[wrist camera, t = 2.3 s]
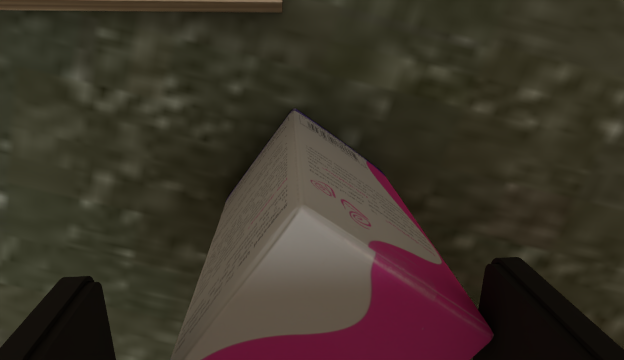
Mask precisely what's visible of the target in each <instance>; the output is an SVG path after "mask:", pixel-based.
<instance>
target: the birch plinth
mask: <svg viewBox="0 0 624 360" xmlns="http://www.w3.org/2000/svg"><path fill="white" fill-rule="evenodd" d="M0 10H51V11H165V12H279V13H282V0H0Z"/></svg>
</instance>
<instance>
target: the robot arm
mask: <svg viewBox="0 0 624 360" xmlns="http://www.w3.org/2000/svg"><path fill="white" fill-rule="evenodd" d="M478 311H479V312H480V314H481V315H482V316H483V318H484V319H485V321H486V322H487V324H488V325H489V327H490V328H491V330H492V332H493V334H494V336H493V338H492V340H491V341H490V342H489V343H488V344H487V345H486V346H485V347H484V348H482V349H481V350H480V351H479V352H478V353H477V354H476V355H475V356H474V357H473V360H624V350H623V349H622V348H621V347H620V346H619V345H618V344H617V343H615V342H614V341H613V340H612V339H611V338H610V337H609V336H608V335H606V334H605V333H604V332H603V331H602V330H601V329H600V328H599V327H597V326H596V325H595V324H594V323H593V322H592V321H591V320H590V319H588V318H587V317H586V316H585V315H584V314H583V313H582V312H581V311H579V310H578V309H577V308H576V307H575V306H574V305H573V304H572V303H570V302H569V301H568V300H567V299H566V298H565V297H564V296H563V295H561V294H560V293H559V292H558V291H557V290H556V289H555V288H554V287H552V286H551V285H550V284H549V283H548V282H547V281H546V280H545V279H543V278H542V277H541V276H540V275H539V274H538V273H537V272H536V271H534V270H533V269H532V268H531V267H530V266H529V265H528V264H527V263H525V262H524V261H523V260H522V259H521V258H519V257H510V258H495V259H493V261H492V263H491V264H488V265H487V266H486V268H485V273H484V279H483V285H482V291H481V297H480V303H479V309H478ZM0 360H116V358H115V352H114V347H113V342H112V337H111V331H110V326H109V321H108V316H107V310H106V305H105V300H104V295H103V290H102V286H101V284H100V283H99V282H94V280H93V278H92V277H90V276H81V277H64V278H62V279H60V280H59V281H58V282H57V284H56V285H55V286H54V287H53V288H52V289H51V290H50V292H49V293H48V294H47V295H46V296H45V297H44V298H43V300H42V301H41V302H40V303H39V304H38V305H37V306H36V308H35V309H34V310H33V311H32V312H31V313H30V314H29V316H28V317H27V318H26V319H25V320H24V321H23V322H22V324H21V325H20V326H19V327H18V328H17V329H16V330H15V332H14V333H13V334H12V335H11V336H10V337H9V339H8V340H7V341H6V342H5V343H4V344H3V345H2V347H1V348H0Z"/></svg>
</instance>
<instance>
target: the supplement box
mask: <svg viewBox="0 0 624 360" xmlns="http://www.w3.org/2000/svg"><path fill="white" fill-rule="evenodd" d="M493 336H494V334H493V332H492V330H491V328H490V327H489V325H488V324H487V322H486V321H485V319H484V318H483V316H482V315H481V314H480V312H479V311H478V309H477V308H476V306H475V305H474V303H473V302H472V300H471V299H470V298H469V296H468V295H467V293H466V292H465V290H464V289H463V288H462V286H461V285H460V283H459V282H458V280H457V279H456V277H455V276H454V274H453V273H452V271H451V270H450V269H449V267H448V266H447V264H446V263H445V262H444V260H443V259H442V257H441V256H440V254H439V253H438V251H437V250H436V249H435V247H434V246H433V244H432V243H431V241H430V240H429V239H428V237H427V236H426V234H425V233H424V231H423V230H422V229H421V227H420V226H419V224H418V223H417V221H416V220H415V219H414V217H413V216H412V214H411V213H410V211H409V210H408V208H407V207H406V205H405V204H404V203H403V201H402V199H401V198H400V197H399V195H398V194H397V192H396V191H395V189H394V188H393V187H392V185H391V184H390V182H389V181H388V179H387V178H386V176H385V174H384V173H383V172H382V171H381V170H379V169H378V168H377V167H376V166H374V165H373V164H372V163H370V162H369V161H368V160H367V159H365V158H364V157H362V156H361V155H360V154H358V153H357V152H356V151H354V150H353V149H352V148H350V147H349V146H348V145H346V144H345V143H343V142H342V141H341V140H339V139H338V138H337V137H335V136H334V135H333V134H331V133H330V132H328V131H327V130H326V129H324V128H323V127H321V126H320V125H319V124H317V123H316V122H314V121H313V120H312V119H310V118H309V117H307V116H306V115H304V114H303V113H301V112H300V111H299V110H297V109H296V108H293V109H292V111H291V112H290V113H289V115H288V116H287V117H286V119H285V120H284V121H283V123H282V124H281V125H280V127H279V128H278V129H277V131H276V132H275V133H274V135H273V136H272V137H271V139H270V140H269V141H268V143H267V144H266V145H265V147H264V148H263V150H262V151H261V152H260V154H259V155H258V156H257V158H256V159H255V160H254V162H253V163H252V165H251V166H250V167H249V169H248V170H247V171H246V173H245V174H244V176H243V177H242V178H241V180H240V181H239V182H238V184H237V185H236V186H235V188H234V189H233V190H232V192H231V193H230V195H229V196H228V198H227V199H226V203H225V206H224V209H223V212H222V214H221V218H220V221H219V224H218V227H217V229H216V232H215V235H214V238H213V240H212V243H211V246H210V249H209V251H208V255H207V258H206V261H205V263H204V266H203V269H202V271H201V274H200V277H199V280H198V283H197V286H196V289H195V291H194V294H193V297H192V300H191V303H190V306H189V308H188V311H187V314H186V317H185V320H184V322H183V325H182V328H181V331H180V333H179V336H178V339H177V342H176V345H175V348H174V350H173V353H172V356H171V359H170V360H470V359H471V358H473V357H474V356H475V355H476V354H477V353H478V352H479V351H480V350H481V349H482V348H484V347H485V346H486V345H487V344H488V343H489V342H490V341H491V340H492V338H493Z"/></svg>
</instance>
